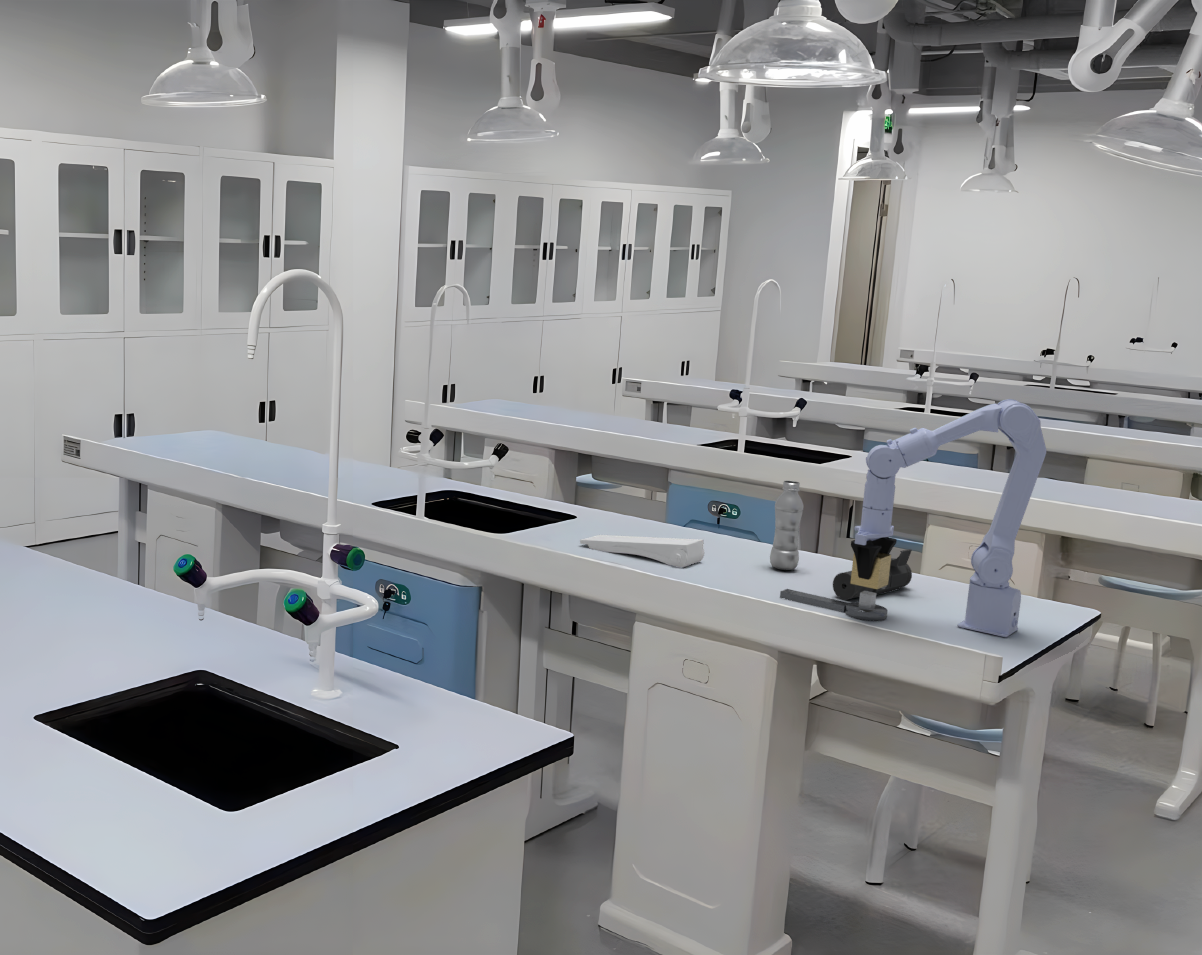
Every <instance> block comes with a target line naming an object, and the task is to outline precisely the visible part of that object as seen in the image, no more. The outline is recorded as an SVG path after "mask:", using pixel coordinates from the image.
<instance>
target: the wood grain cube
mask: <svg viewBox="0 0 1202 955" xmlns="http://www.w3.org/2000/svg"><path fill="white" fill-rule="evenodd" d="M891 558H892V554H891V553H890V554H885V553H880V552H878V554H877V556H876V559H875V562H874V566H873V570H872V574H871V577H870V579H869V580H867V579H862V578H859V577H858V571H857V563H856V558H855V554H854V553H853V556H852V566H851V571H852V574H851V583H850V584H855V585H859V586H864V587H869V588H873V589H879V588H881V587H884V586H886V585H888V580H889V571H890V563H891Z"/></svg>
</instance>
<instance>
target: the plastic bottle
mask: <svg viewBox="0 0 1202 955" xmlns="http://www.w3.org/2000/svg"><path fill="white" fill-rule="evenodd" d="M782 483H783V485H782V488H781V489H782V490H783V491H782V493H781V494H780V495H778V497H777V499H775V503H774V516H775V518H774V520H775V522H774V523H775V524H774V526H775V528H774V536H773V537H774V538H773V543H772V547H771V550H770V554H769V563H770V565H771V567H772V568H774V569H778V570H781V571H791V570H795V569H796V568H797V567H798V565H799V561H800V555H799V534H800V533H799V530H800V525H801V521H802V516H803V511H804V506H805V505H804V503H803V502H804V501H803V500H802V498H801V496H800V494H799V492H800V491H801V490H800V486H801V485H800V482H799V481H795V480H794V481H793V480H784V481H783V482H782Z"/></svg>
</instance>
